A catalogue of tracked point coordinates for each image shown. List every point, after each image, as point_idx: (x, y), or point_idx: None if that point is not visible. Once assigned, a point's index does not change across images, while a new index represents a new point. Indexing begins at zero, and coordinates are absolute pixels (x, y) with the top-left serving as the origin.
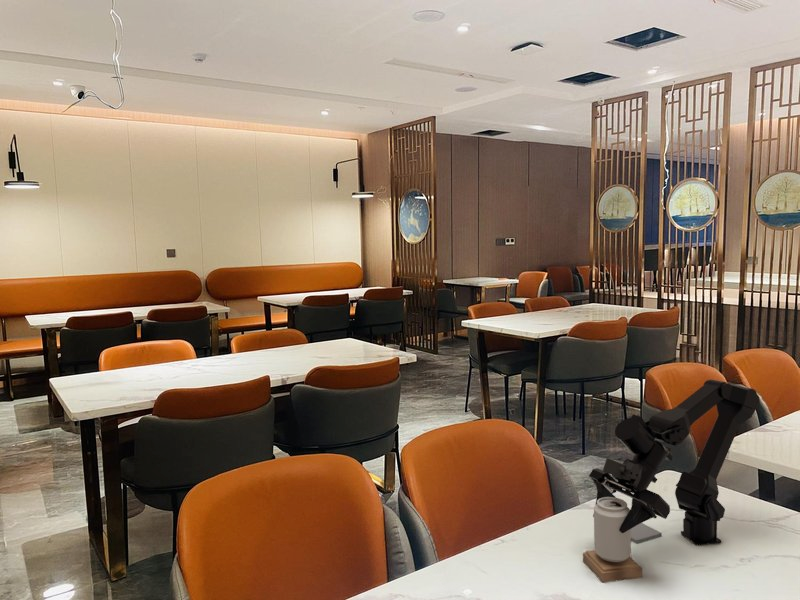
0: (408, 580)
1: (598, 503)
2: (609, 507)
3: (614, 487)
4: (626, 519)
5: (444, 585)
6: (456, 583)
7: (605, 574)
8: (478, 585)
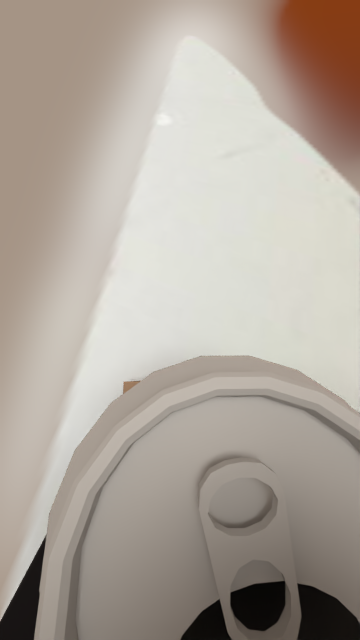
0: (215, 57)
1: (259, 381)
2: (182, 496)
3: None
4: (23, 613)
5: (189, 94)
6: (192, 110)
7: (123, 391)
8: (178, 137)
